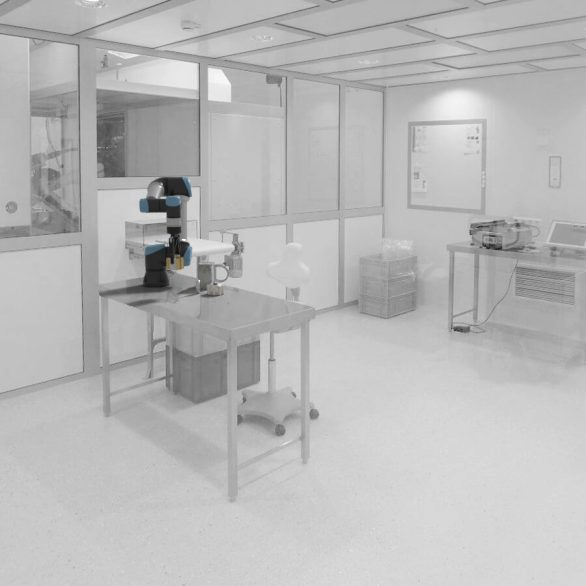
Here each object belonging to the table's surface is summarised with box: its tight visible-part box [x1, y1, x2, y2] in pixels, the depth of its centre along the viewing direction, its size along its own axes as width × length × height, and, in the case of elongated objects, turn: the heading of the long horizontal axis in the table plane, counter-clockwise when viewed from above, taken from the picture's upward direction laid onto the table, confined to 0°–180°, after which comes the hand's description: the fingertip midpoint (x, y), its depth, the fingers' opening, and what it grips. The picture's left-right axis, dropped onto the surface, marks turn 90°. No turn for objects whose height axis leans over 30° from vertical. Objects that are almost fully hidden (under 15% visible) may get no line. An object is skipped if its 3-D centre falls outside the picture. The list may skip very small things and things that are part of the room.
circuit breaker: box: [197, 261, 217, 290], centre depth 368 cm, size 8×14×15 cm, turn 174°
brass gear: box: [166, 257, 185, 271], centre depth 349 cm, size 9×9×6 cm
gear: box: [206, 282, 225, 296], centre depth 349 cm, size 9×9×6 cm
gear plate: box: [195, 280, 201, 295], centre depth 350 cm, size 9×18×8 cm, turn 85°
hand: (175, 268), depth 349 cm, fingers closed on brass gear, 9 cm apart
